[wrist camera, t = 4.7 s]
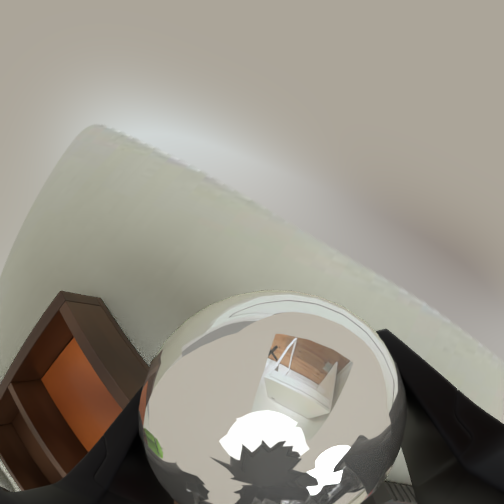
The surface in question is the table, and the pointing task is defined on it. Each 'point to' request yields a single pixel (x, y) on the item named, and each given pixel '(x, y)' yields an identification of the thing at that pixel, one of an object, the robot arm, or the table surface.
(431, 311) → the table surface
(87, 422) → the compartment tray
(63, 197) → the table surface
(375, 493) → the walkie-talkie
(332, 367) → the light bulb
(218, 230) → the table surface
